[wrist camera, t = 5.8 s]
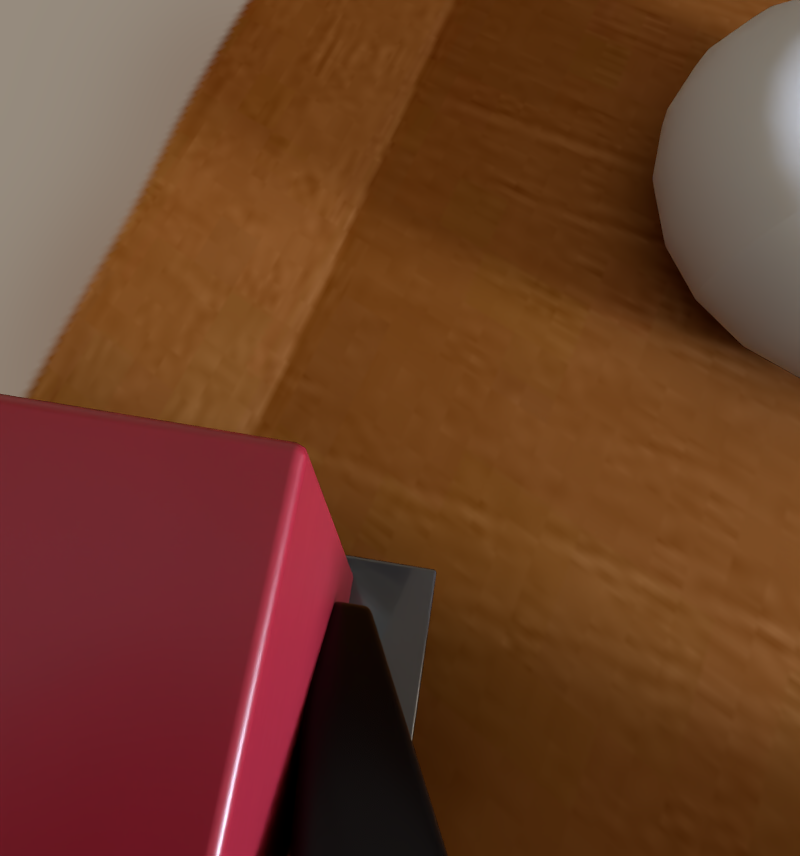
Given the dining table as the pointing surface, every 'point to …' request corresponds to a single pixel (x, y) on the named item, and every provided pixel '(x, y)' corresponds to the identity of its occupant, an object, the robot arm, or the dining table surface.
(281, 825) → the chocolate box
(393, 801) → the robot arm
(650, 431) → the dining table surface
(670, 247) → the donut
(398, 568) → the stand
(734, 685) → the dining table surface
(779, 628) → the dining table surface
